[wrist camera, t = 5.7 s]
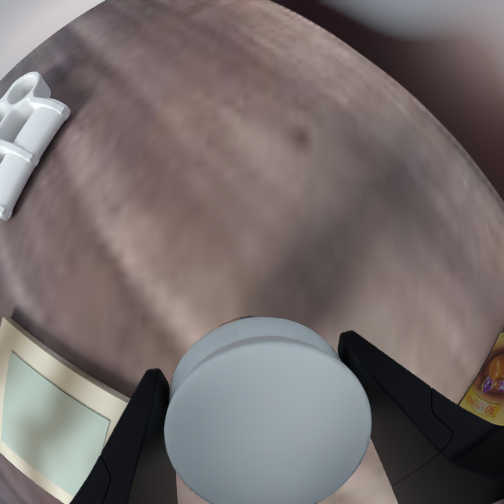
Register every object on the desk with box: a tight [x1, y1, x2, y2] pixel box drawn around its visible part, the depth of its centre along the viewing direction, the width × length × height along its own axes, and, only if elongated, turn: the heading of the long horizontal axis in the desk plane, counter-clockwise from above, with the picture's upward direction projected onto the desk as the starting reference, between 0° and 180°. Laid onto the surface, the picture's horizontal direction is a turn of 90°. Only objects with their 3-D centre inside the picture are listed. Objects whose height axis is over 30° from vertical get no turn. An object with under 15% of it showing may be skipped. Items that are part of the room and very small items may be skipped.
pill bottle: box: [164, 316, 372, 504], centre depth 10 cm, size 6×6×10 cm
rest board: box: [0, 317, 131, 504], centre depth 15 cm, size 14×14×1 cm
